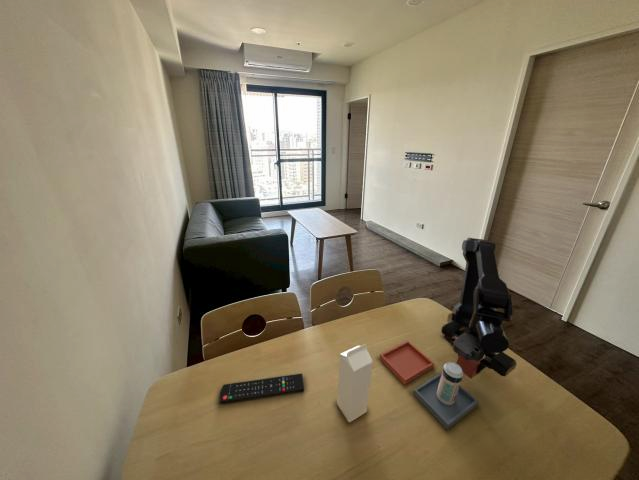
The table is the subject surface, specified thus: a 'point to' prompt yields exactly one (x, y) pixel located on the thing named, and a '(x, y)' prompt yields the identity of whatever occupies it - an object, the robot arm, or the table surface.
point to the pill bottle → (449, 383)
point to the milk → (354, 382)
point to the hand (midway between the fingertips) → (468, 366)
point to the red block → (468, 366)
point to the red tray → (406, 362)
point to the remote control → (261, 388)
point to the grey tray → (440, 410)
